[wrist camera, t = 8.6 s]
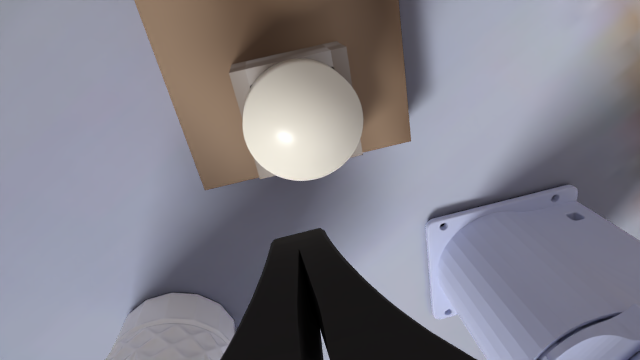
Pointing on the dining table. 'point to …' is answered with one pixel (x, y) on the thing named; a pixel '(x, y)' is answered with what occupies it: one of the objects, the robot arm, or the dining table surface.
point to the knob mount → (260, 54)
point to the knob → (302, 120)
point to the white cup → (174, 330)
